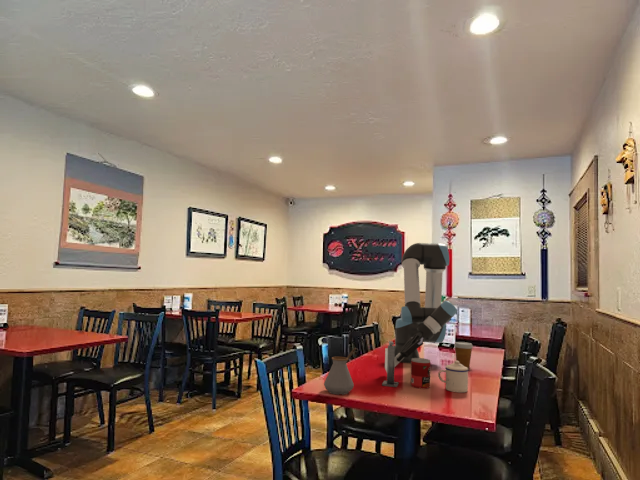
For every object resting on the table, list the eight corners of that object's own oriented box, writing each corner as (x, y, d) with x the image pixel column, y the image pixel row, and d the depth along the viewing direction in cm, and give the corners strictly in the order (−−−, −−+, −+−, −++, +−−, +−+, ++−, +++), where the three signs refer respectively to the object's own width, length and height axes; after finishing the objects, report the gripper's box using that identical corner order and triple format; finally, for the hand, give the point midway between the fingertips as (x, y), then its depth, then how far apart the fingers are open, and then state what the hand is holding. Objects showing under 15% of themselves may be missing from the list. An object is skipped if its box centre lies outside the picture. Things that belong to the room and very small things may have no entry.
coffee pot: (345, 397, 162) (347, 356, 163) (318, 392, 167) (319, 352, 169) (367, 386, 181) (369, 349, 182) (342, 382, 186) (343, 345, 187)
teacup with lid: (470, 389, 182) (470, 360, 183) (466, 394, 174) (466, 364, 175) (440, 385, 188) (441, 357, 189) (435, 389, 180) (436, 360, 181)
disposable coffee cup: (449, 365, 234) (450, 342, 235) (463, 364, 238) (463, 341, 239) (462, 368, 226) (462, 344, 227) (476, 367, 230) (477, 344, 231)
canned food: (425, 389, 179) (426, 362, 179) (407, 386, 183) (408, 359, 184) (433, 386, 185) (433, 359, 186) (415, 383, 189) (415, 357, 190)
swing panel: (392, 377, 184) (393, 342, 186) (388, 377, 184) (389, 342, 186) (387, 368, 204) (388, 336, 205) (384, 367, 204) (385, 336, 206)
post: (384, 382, 188) (385, 344, 190) (398, 384, 187) (399, 345, 188) (382, 385, 183) (383, 346, 184) (396, 387, 181) (397, 347, 182)
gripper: (438, 336, 195) (401, 374, 192) (429, 332, 208) (394, 368, 205) (427, 324, 195) (389, 361, 192) (418, 321, 208) (382, 356, 205)
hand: (391, 365), depth 199 cm, fingers closed
